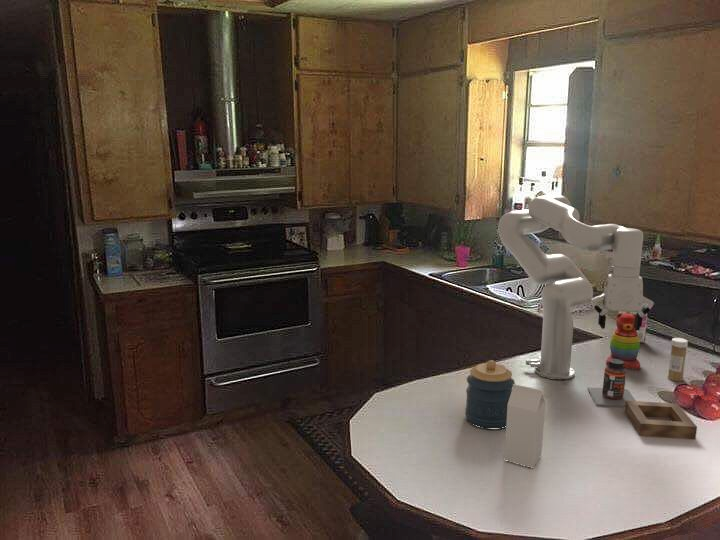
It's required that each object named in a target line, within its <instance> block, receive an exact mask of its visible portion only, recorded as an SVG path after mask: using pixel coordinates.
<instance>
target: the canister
mask: <svg viewBox="0 0 720 540" xmlns="http://www.w3.org/2000/svg"><path fill="white" fill-rule="evenodd" d="M469 372H470V374H469V375H468V376H467V377H466V382H467V383H468V384H467V387H466V389H465V390H466V405H465V412H464V413H465V419H466V418H467V419H466V421H467V420H468V421H469V422H470V423H472V424H474V425H477V426H480V427H483V428H502V427H505V426H506V423H507V405H508V401H509V398H510V395H511V392H512V389H513V384H516V382H515V380H514V379H513V373H512V371H511V370H510V369H508V368H506V367H505V366H504V365H502V364H498V363H497V362H495V360H492V359H489V360H488V361H487V362H483V363H479V364H476V365H474V366H473V367H471V369H470V370H469ZM468 421H467V422H468ZM469 422H468V423H469ZM470 423H469V424H470ZM472 424H471V425H472ZM474 425H473V426H474Z"/></svg>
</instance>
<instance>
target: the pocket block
mask: <svg viewBox="0 0 720 540" xmlns="http://www.w3.org/2000/svg"><path fill="white" fill-rule="evenodd" d="M624 413H625V415H626V417H627V418H628V420H629V421H630V423H631V424H632V427H633V428H634V430H635V431H636V433H637V434H638V436H640V437H642V436H643V437H653V438H654V437H656V438H657V437H658V438H670V439H671V438H672V439H673V438H674V439H685V440H687V439H688V440H689V439H690V440H696V438H697V437H696V436H697V430H698V427H697V425H696V424H695V422H694V421H693V420H692V419H691V418H690V417H689V416H688V414H687V413H686V412H685V411H684V409H683V408H682V407H681V406H680V404H679V403H675V402H674V403H673V402H672V403H671V402H656V401H637V400H636V401H626V402H625V407H624ZM648 418H656V419H648ZM657 418H659V419H670V420H657Z"/></svg>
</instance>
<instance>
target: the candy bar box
mask: <svg viewBox="0 0 720 540" xmlns="http://www.w3.org/2000/svg"><path fill="white" fill-rule="evenodd" d="M646 304H647V303H645V302H643V305H642V309H643V308H644V307H645V306H646ZM619 313H621V314H631V315H633V314H637V312H629V311H618V314H619ZM648 317H649V312H648V313H647V314H645V315H644V317H642V326H641V327H640V329H639V330H636V329H635V330H636V331H637V333H638V336H639V342H640V344H643V343H646V336H647V335H646V334H647V326H648V319H649V318H648ZM616 329H618V327H617V326H616Z"/></svg>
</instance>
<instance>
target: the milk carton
mask: <svg viewBox="0 0 720 540" xmlns="http://www.w3.org/2000/svg"><path fill="white" fill-rule="evenodd" d="M545 407H546V399H545V397H544V395H543V389H538V388H534V387H533V388H532V387H528V386H524V385H520V384H516V383H515V384H513V387H512V392H511V395H510V398H509V401H508V405H507V423H506V428H505V442H504V443H505V444H504V459H505V460H508V461H511V462H515V463H518V464H522V465H525V466H529V467H532V468H533V467H534V468H535V467H536V465H537V462H538V461H539V460H540V458H541V457H542V454H543V453H542V452H543V451H542V449H543V438H544V437H543V436H544V423H545V422H544V421H545V410H546V409H545ZM540 456H541V457H540ZM504 459H503V460H504ZM505 460H504V461H505ZM511 462H510V463H511ZM518 464H517V465H518ZM535 464H536V465H535ZM525 466H524V467H525ZM532 468H531V469H532ZM534 468H533V469H534Z"/></svg>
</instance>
